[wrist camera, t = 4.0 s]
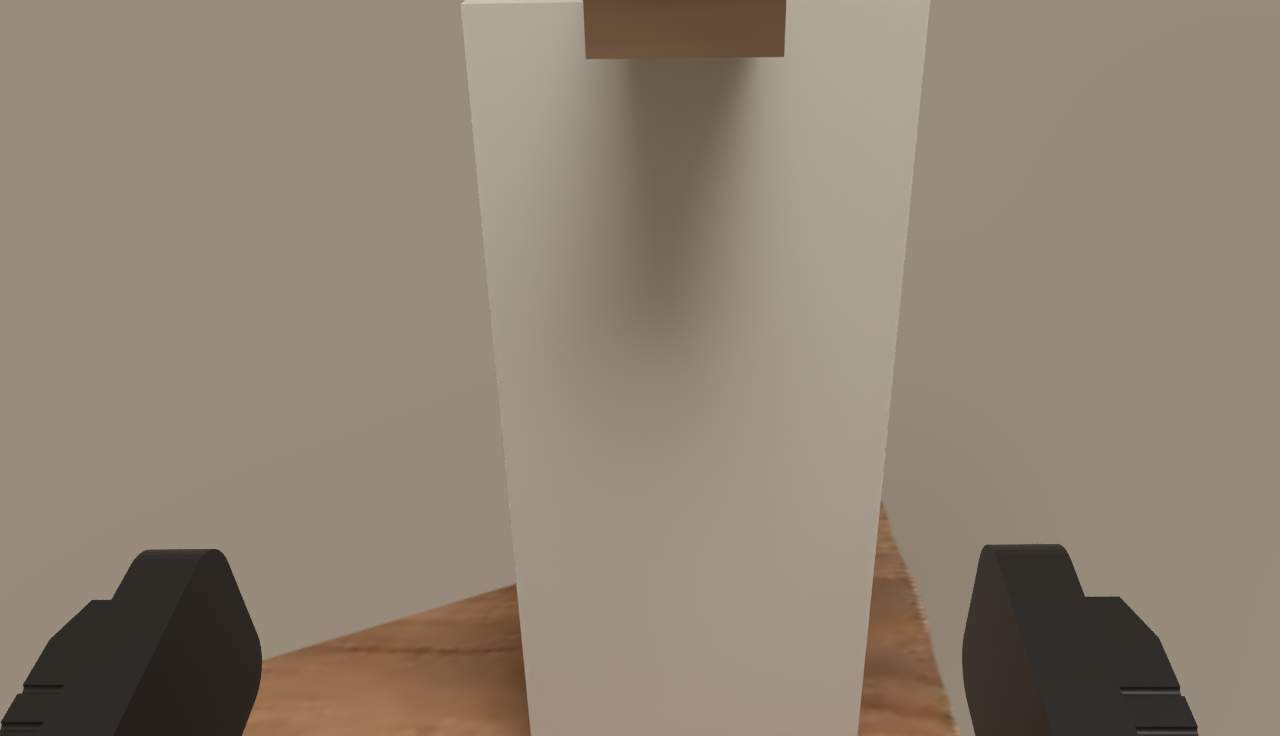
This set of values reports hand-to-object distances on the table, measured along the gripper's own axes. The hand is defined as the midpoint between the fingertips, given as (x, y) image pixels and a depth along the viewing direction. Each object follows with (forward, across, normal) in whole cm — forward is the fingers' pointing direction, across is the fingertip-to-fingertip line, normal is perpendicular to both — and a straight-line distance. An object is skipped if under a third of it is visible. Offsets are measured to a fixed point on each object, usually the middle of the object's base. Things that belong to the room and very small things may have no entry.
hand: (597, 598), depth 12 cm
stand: (+23, 0, +33) cm, 40 cm away
